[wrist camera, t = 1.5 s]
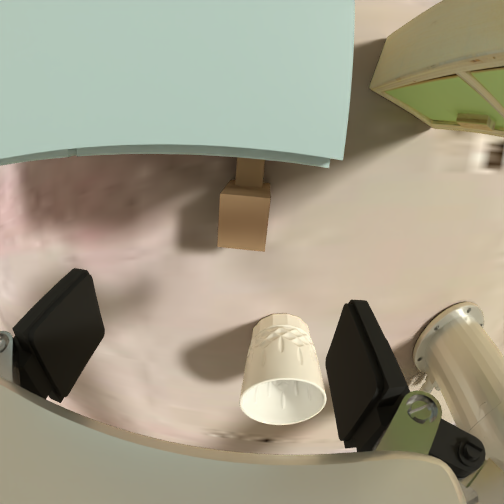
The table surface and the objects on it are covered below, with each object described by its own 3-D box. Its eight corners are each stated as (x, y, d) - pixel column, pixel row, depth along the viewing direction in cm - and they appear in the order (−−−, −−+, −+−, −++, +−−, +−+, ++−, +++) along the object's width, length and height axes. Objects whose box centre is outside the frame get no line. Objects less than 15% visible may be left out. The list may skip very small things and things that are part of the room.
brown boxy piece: (265, 225, 26) (264, 251, 21) (228, 221, 26) (217, 246, 21) (280, 85, 21) (283, 70, 15) (239, 81, 21) (230, 66, 15)
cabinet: (288, 144, 23) (341, 172, 7) (119, 138, 23) (-41, 174, 7) (299, 33, 18) (346, -100, 2) (129, 36, 19) (-6, -20, 2)
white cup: (286, 366, 34) (289, 431, 25) (234, 340, 32) (223, 408, 23) (328, 327, 31) (344, 395, 22) (273, 296, 29) (273, 366, 20)
